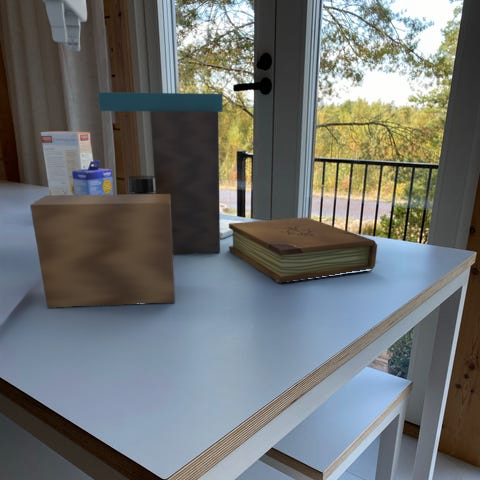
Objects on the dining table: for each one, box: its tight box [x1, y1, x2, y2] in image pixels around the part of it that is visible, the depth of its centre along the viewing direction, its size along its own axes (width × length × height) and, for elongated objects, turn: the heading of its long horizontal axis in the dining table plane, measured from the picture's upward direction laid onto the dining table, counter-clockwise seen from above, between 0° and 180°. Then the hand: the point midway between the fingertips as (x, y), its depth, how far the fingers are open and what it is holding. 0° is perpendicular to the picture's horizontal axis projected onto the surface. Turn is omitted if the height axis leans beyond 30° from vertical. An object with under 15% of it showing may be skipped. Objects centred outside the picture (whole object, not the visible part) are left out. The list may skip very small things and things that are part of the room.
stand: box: [150, 111, 221, 255], centre depth 93 cm, size 12×8×26 cm, turn 97°
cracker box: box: [40, 130, 94, 195], centre depth 144 cm, size 14×6×21 cm, turn 66°
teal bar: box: [97, 91, 224, 113], centre depth 87 cm, size 22×3×3 cm, turn 97°
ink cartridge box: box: [72, 160, 114, 195], centre depth 126 cm, size 10×6×14 cm, turn 155°
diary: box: [228, 216, 378, 283], centre depth 89 cm, size 23×19×6 cm
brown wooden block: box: [29, 193, 176, 309], centre depth 69 cm, size 18×8×14 cm, turn 97°
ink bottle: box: [127, 175, 156, 194], centre depth 113 cm, size 10×9×12 cm
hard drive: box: [220, 218, 243, 240], centre depth 112 cm, size 2×8×12 cm
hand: (67, 46), depth 71 cm, fingers open, 8 cm apart
